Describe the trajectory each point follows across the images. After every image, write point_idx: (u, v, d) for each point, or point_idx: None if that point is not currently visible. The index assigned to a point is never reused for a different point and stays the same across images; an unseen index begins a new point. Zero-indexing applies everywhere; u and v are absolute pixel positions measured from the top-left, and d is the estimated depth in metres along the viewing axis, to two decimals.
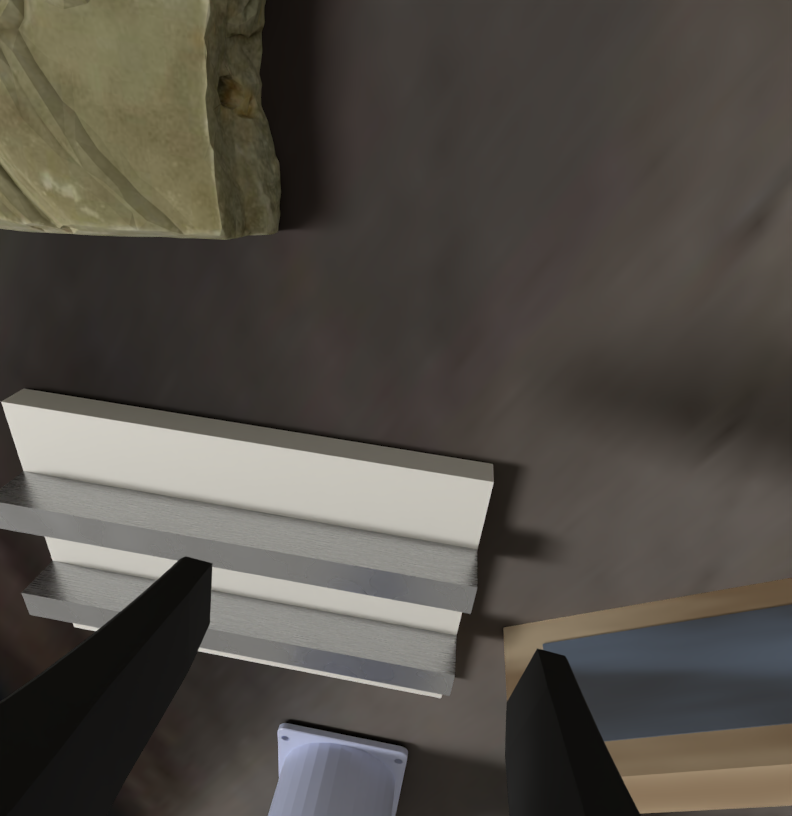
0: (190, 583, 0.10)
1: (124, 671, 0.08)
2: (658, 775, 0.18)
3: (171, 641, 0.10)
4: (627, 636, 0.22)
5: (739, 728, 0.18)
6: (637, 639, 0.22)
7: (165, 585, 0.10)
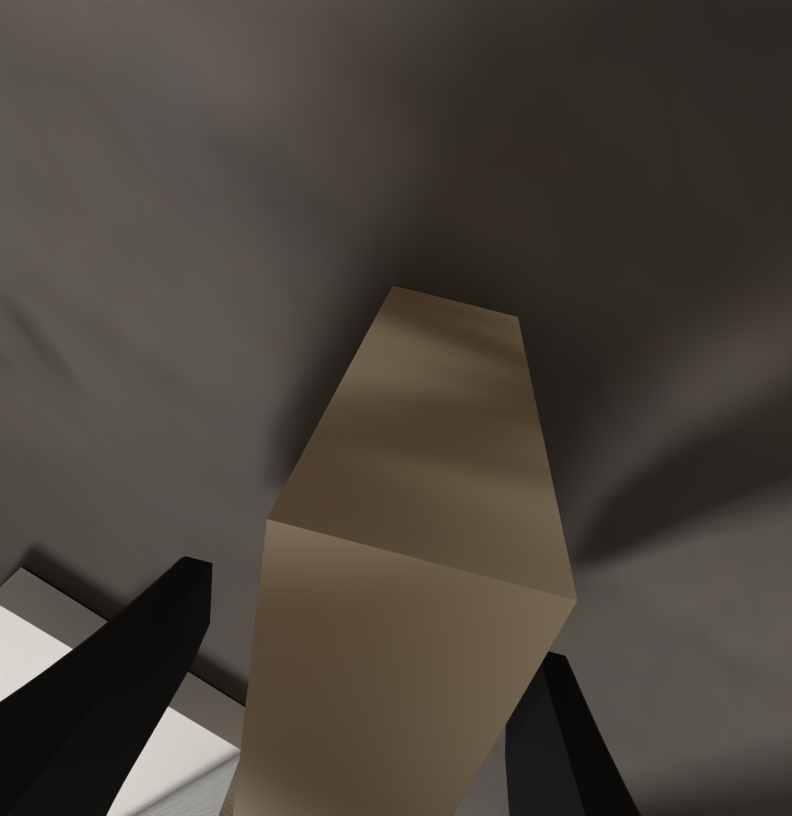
0: (190, 583, 0.10)
1: (124, 671, 0.08)
2: None
3: (171, 641, 0.10)
4: None
5: None
6: None
7: (165, 585, 0.10)
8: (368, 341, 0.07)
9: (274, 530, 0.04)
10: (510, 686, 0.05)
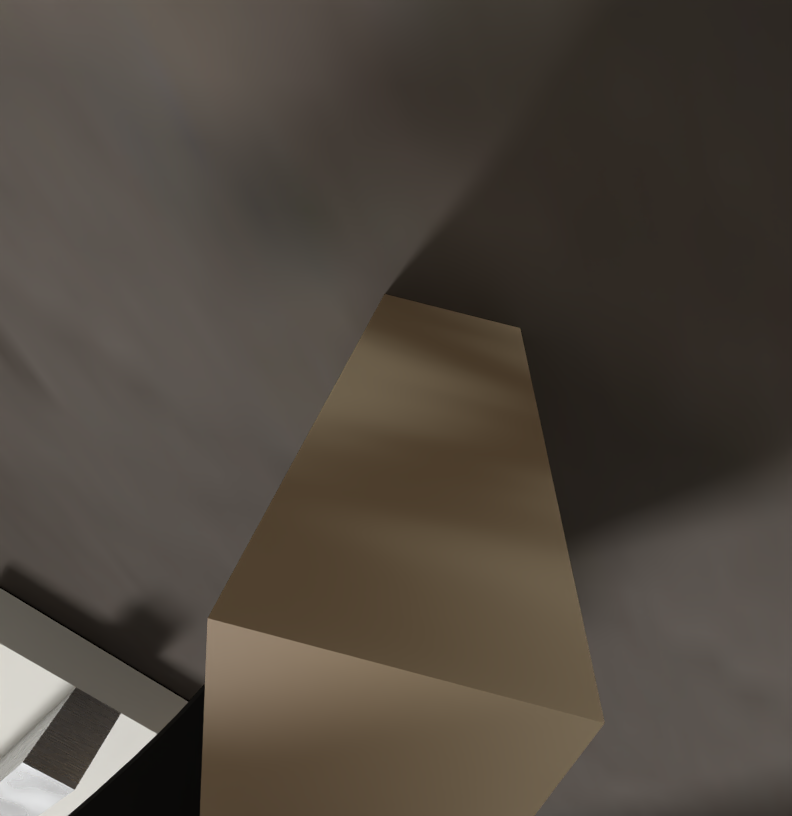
0: None
1: None
2: None
3: None
4: None
5: None
6: None
7: None
8: (352, 364, 0.07)
9: (218, 630, 0.03)
10: (517, 808, 0.04)
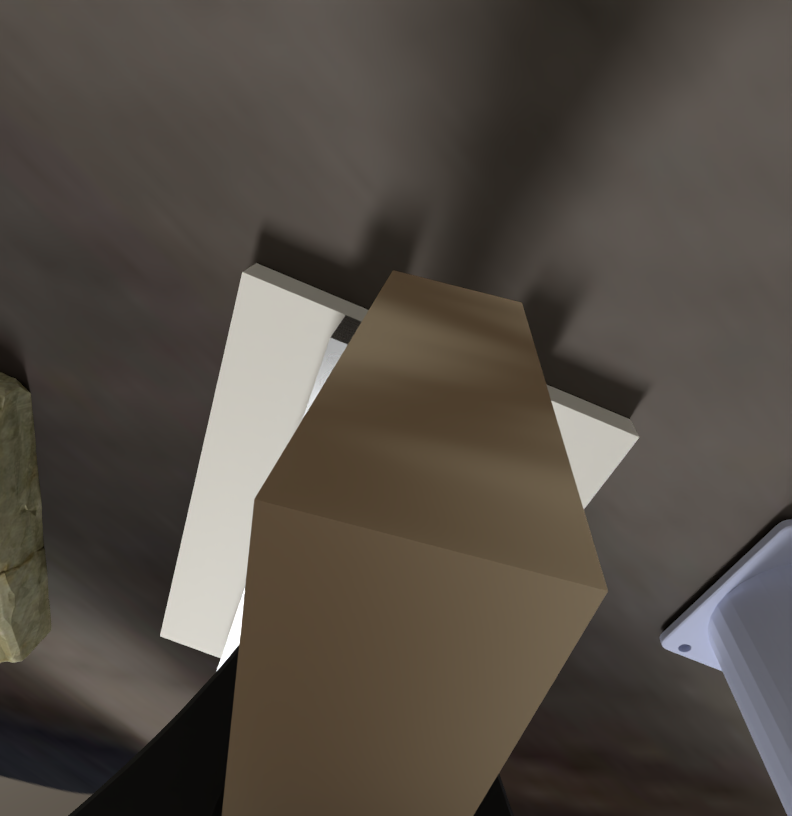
0: None
1: None
2: None
3: None
4: None
5: None
6: None
7: None
8: (367, 323, 0.07)
9: (263, 512, 0.04)
10: (527, 689, 0.04)
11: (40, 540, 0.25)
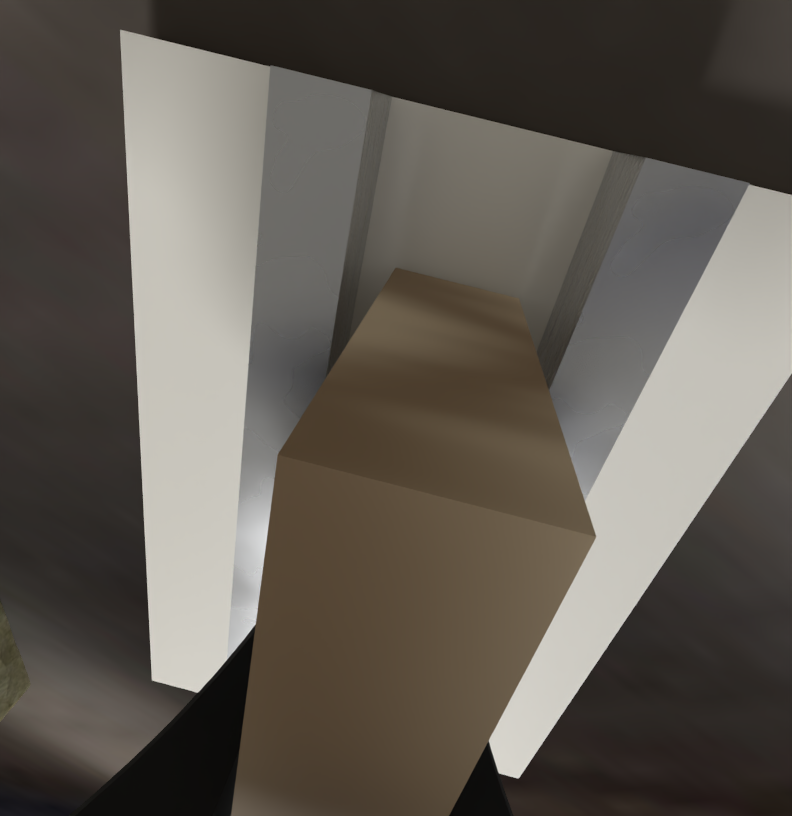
0: None
1: None
2: None
3: None
4: None
5: None
6: None
7: None
8: (373, 312, 0.07)
9: (284, 467, 0.04)
10: (525, 636, 0.04)
11: None
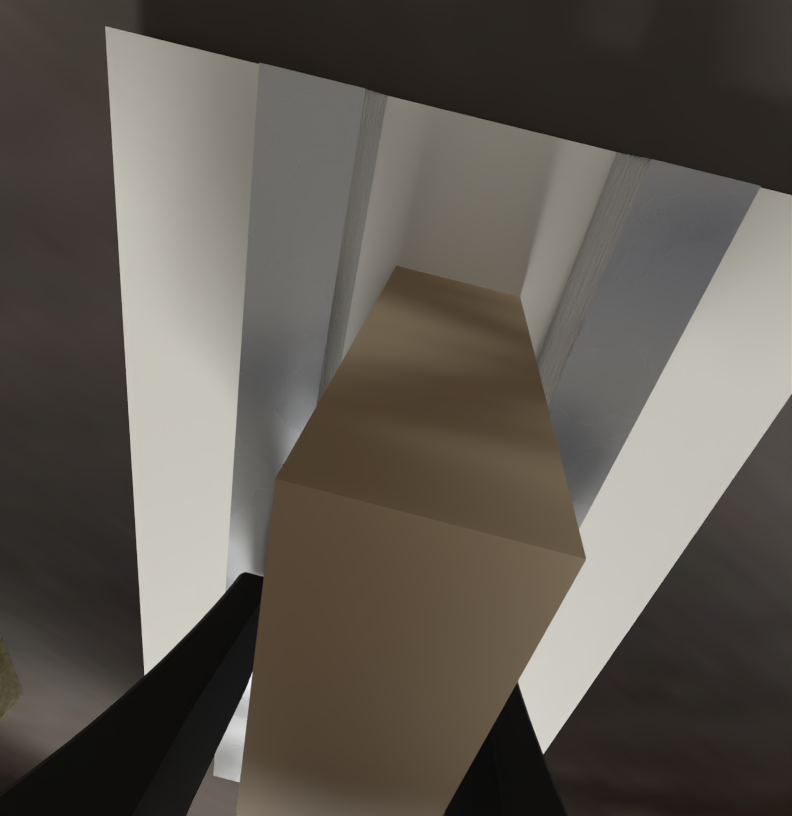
0: (255, 600, 0.10)
1: (203, 692, 0.08)
2: None
3: (238, 659, 0.10)
4: None
5: None
6: None
7: (231, 602, 0.10)
8: (372, 318, 0.07)
9: (282, 490, 0.04)
10: (518, 649, 0.05)
11: None
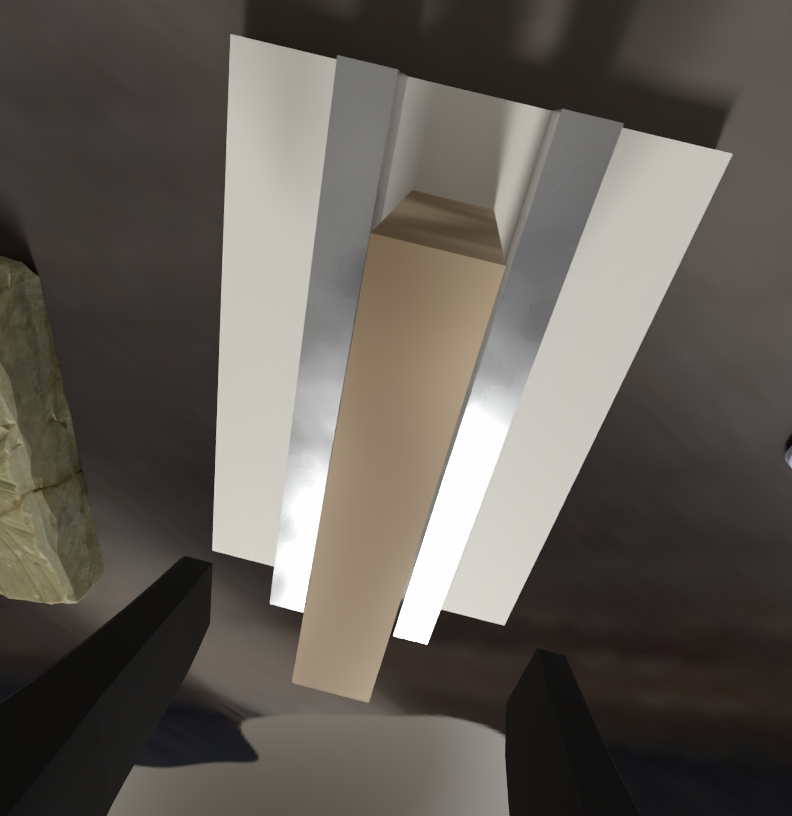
0: (190, 583, 0.10)
1: (124, 671, 0.08)
2: (314, 572, 0.14)
3: (171, 641, 0.10)
4: None
5: None
6: None
7: (165, 585, 0.10)
8: (402, 204, 0.13)
9: (373, 240, 0.09)
10: (479, 326, 0.10)
11: (77, 460, 0.24)
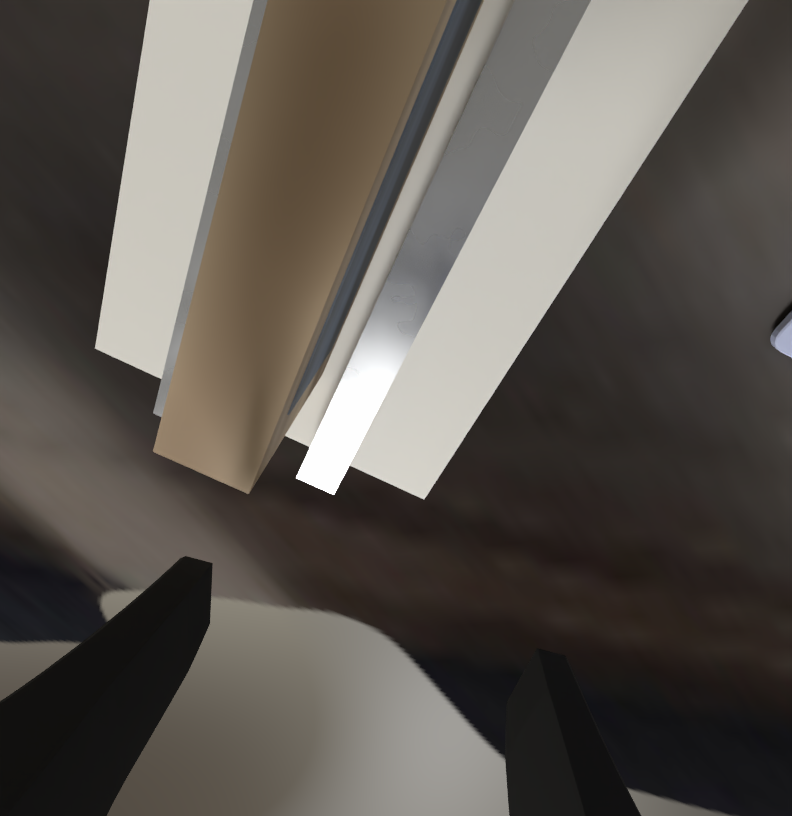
0: (190, 583, 0.10)
1: (124, 671, 0.08)
2: (205, 261, 0.10)
3: (171, 641, 0.10)
4: None
5: None
6: None
7: (165, 585, 0.10)
8: None
9: None
10: None
11: None
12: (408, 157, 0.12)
